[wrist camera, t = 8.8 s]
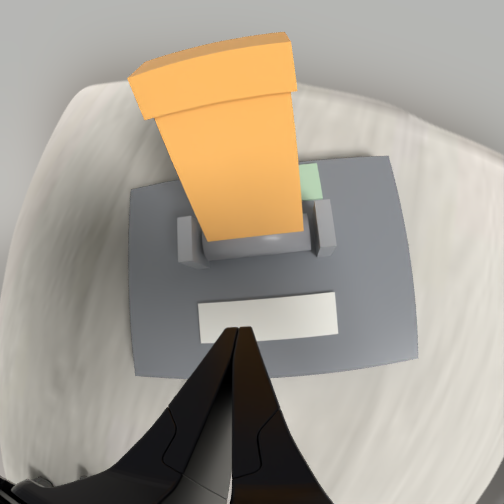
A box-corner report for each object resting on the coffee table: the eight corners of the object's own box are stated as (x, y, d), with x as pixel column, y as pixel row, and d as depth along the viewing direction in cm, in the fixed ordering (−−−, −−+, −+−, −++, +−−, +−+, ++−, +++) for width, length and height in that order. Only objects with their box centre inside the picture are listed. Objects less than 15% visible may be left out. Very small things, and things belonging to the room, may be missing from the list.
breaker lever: (311, 257, 16) (294, 41, 7) (211, 267, 17) (124, 79, 8) (307, 229, 17) (287, 31, 8) (213, 240, 18) (142, 62, 9)
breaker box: (409, 354, 16) (438, 366, 12) (145, 371, 19) (110, 384, 14) (383, 165, 19) (400, 132, 14) (140, 196, 21) (108, 173, 17)
